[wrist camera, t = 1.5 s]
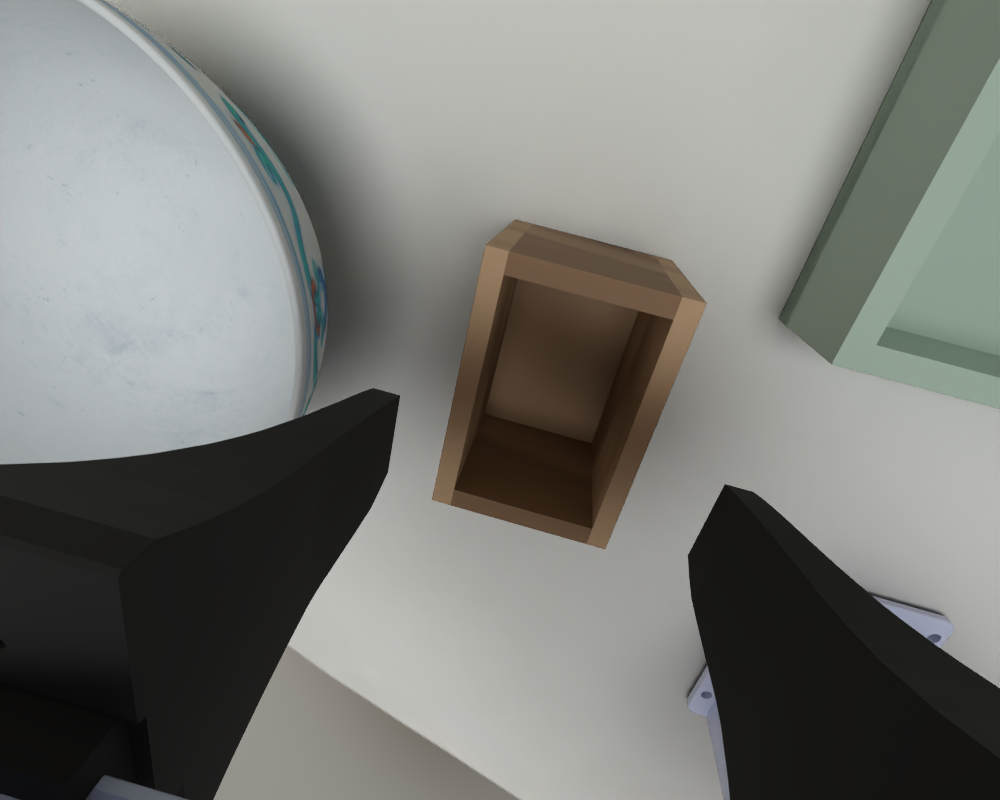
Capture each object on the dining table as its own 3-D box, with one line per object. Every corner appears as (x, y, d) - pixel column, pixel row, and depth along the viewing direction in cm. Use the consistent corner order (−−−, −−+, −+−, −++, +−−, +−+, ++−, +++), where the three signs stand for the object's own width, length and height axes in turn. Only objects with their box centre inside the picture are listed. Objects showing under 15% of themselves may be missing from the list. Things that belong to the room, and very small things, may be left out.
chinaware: (-38, 156, 21) (-353, 155, 14) (244, -85, 16) (-16, -268, 9) (198, 465, 25) (51, 580, 18) (469, 346, 21) (410, 440, 14)
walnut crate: (601, 452, 22) (605, 549, 16) (470, 416, 22) (432, 500, 17) (672, 260, 18) (706, 303, 13) (515, 219, 19) (485, 245, 13)
